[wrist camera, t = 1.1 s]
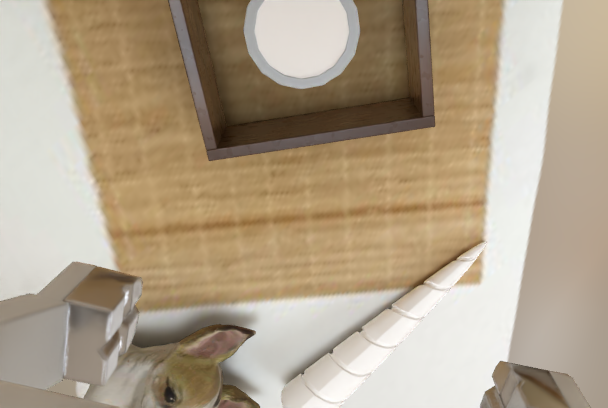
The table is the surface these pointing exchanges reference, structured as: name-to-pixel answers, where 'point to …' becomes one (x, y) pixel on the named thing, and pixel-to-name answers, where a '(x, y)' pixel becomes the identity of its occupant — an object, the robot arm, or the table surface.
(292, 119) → the crate
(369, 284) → the table surface
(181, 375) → the ceramic sculpture
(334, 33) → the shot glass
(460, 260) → the unicorn horn
